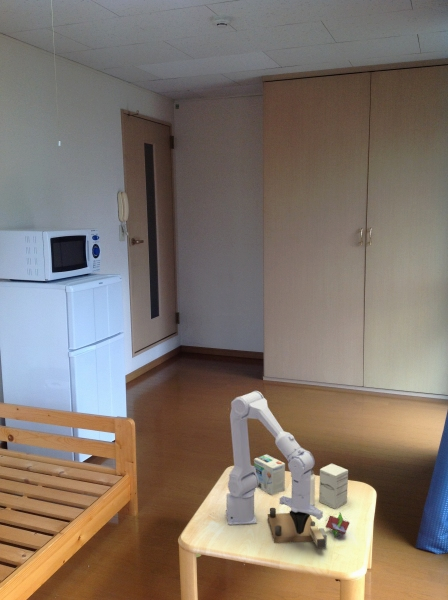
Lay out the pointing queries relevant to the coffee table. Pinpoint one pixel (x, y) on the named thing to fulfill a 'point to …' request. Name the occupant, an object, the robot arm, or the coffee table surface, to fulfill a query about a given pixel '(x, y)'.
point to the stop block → (324, 536)
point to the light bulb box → (270, 474)
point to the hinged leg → (317, 535)
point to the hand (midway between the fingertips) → (300, 532)
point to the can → (312, 488)
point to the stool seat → (287, 528)
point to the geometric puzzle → (337, 524)
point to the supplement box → (333, 486)
